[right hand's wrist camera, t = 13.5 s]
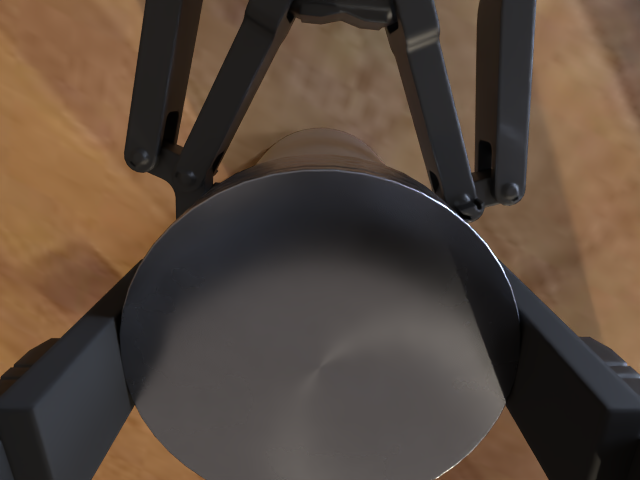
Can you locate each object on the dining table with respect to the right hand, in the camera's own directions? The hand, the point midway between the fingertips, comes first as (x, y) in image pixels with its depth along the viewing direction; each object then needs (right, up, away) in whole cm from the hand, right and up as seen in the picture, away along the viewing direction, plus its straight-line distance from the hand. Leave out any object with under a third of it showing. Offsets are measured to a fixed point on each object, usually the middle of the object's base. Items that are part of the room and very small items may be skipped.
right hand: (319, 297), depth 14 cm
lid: (0, -1, -3) cm, 3 cm away
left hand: (0, -2, +7) cm, 7 cm away
